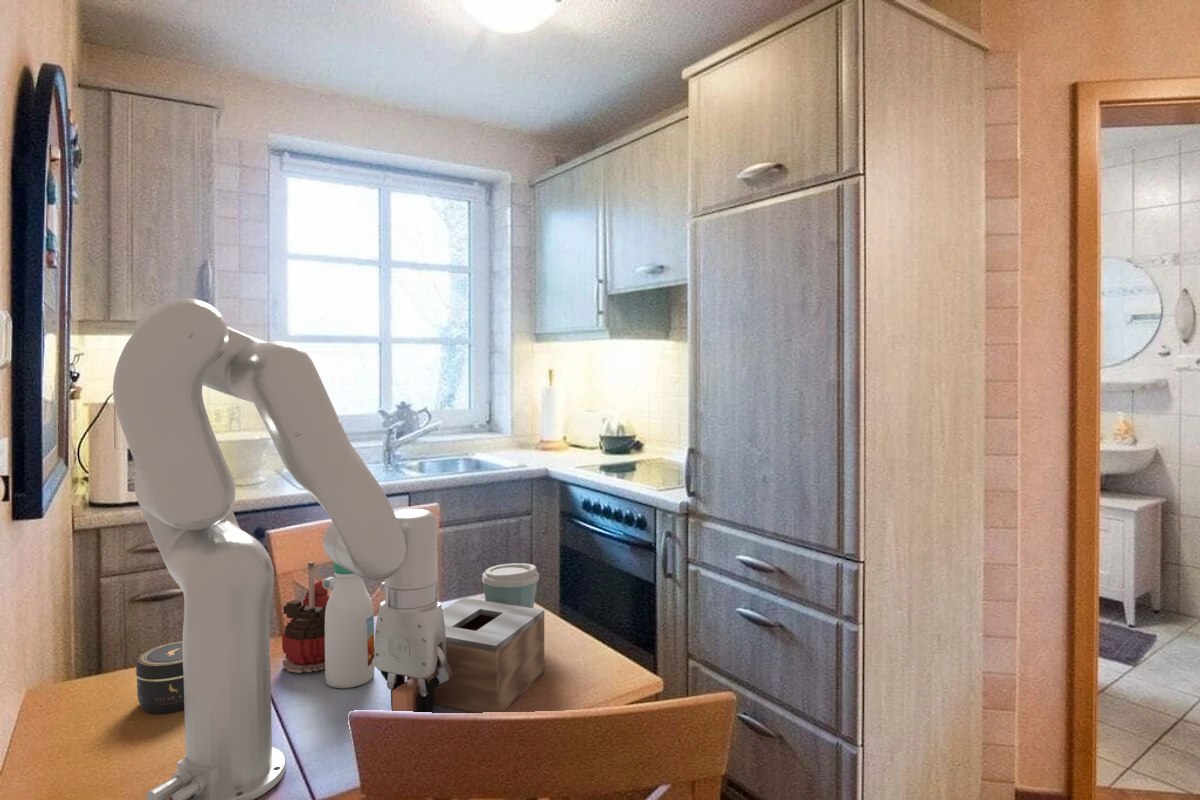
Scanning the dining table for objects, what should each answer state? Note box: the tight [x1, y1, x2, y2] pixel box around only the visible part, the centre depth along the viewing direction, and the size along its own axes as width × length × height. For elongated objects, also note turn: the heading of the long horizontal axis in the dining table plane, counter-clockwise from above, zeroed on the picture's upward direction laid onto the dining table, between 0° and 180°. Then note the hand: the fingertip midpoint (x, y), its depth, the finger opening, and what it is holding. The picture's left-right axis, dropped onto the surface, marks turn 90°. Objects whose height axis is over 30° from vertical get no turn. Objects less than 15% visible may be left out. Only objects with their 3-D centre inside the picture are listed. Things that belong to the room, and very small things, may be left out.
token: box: [392, 677, 428, 712], centre depth 103 cm, size 6×2×5 cm, turn 158°
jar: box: [135, 640, 184, 715], centre depth 107 cm, size 10×10×8 cm
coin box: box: [406, 597, 545, 714], centre depth 112 cm, size 16×16×11 cm
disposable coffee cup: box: [481, 562, 540, 608], centre depth 128 cm, size 11×11×15 cm
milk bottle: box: [324, 562, 376, 689], centre depth 114 cm, size 8×8×20 cm
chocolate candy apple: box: [281, 561, 336, 674], centre depth 120 cm, size 11×9×18 cm
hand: (412, 713), depth 103 cm, fingers open, 3 cm apart
